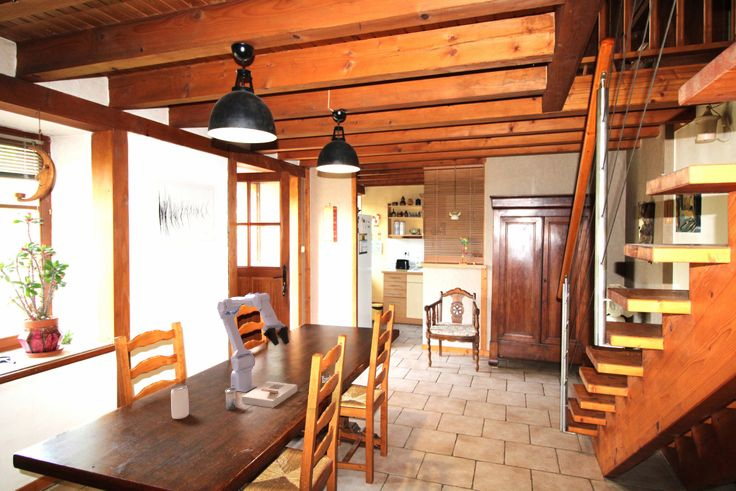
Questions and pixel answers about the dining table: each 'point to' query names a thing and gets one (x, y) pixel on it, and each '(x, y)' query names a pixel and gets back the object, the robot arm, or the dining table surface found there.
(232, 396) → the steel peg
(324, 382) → the adjustable wrench
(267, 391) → the block
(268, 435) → the dining table surface
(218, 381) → the dining table surface
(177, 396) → the can
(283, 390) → the plate
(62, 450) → the dining table surface
